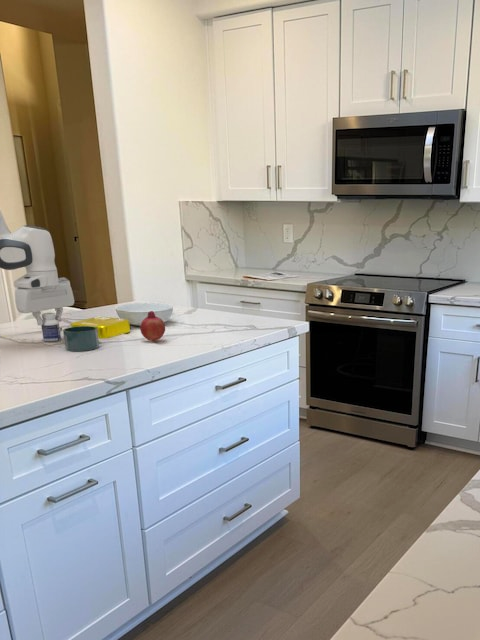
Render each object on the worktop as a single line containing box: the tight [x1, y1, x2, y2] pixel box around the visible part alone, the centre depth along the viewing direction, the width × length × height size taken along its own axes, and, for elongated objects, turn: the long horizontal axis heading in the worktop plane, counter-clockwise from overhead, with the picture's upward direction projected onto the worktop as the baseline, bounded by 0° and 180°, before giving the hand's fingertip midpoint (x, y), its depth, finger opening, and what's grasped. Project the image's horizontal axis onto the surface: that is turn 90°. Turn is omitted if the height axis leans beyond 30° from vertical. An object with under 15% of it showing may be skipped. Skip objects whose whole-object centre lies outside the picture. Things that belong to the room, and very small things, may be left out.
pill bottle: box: [40, 312, 62, 346], centre depth 197 cm, size 5×5×10 cm
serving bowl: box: [115, 301, 174, 327], centre depth 231 cm, size 21×21×7 cm
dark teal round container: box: [62, 326, 100, 352], centre depth 192 cm, size 10×10×6 cm
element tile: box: [70, 315, 131, 340], centre depth 213 cm, size 15×15×5 cm
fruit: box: [139, 311, 166, 342], centre depth 202 cm, size 8×8×10 cm
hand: (49, 323), depth 196 cm, fingers closed on pill bottle, 5 cm apart
